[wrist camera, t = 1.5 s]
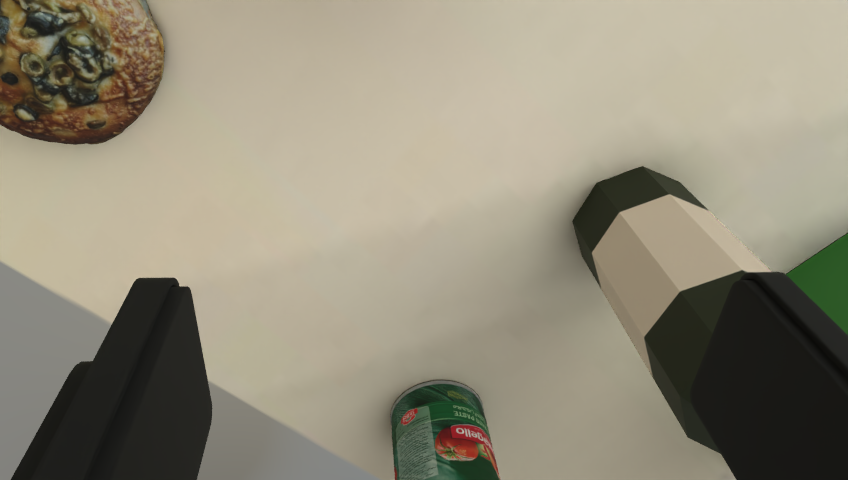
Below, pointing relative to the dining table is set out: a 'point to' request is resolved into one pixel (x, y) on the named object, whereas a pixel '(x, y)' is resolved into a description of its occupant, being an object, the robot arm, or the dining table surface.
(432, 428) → the canned tomato
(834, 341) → the robot arm
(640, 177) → the wine bottle
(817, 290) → the hardback book
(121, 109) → the bread roll
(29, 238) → the dining table surface
